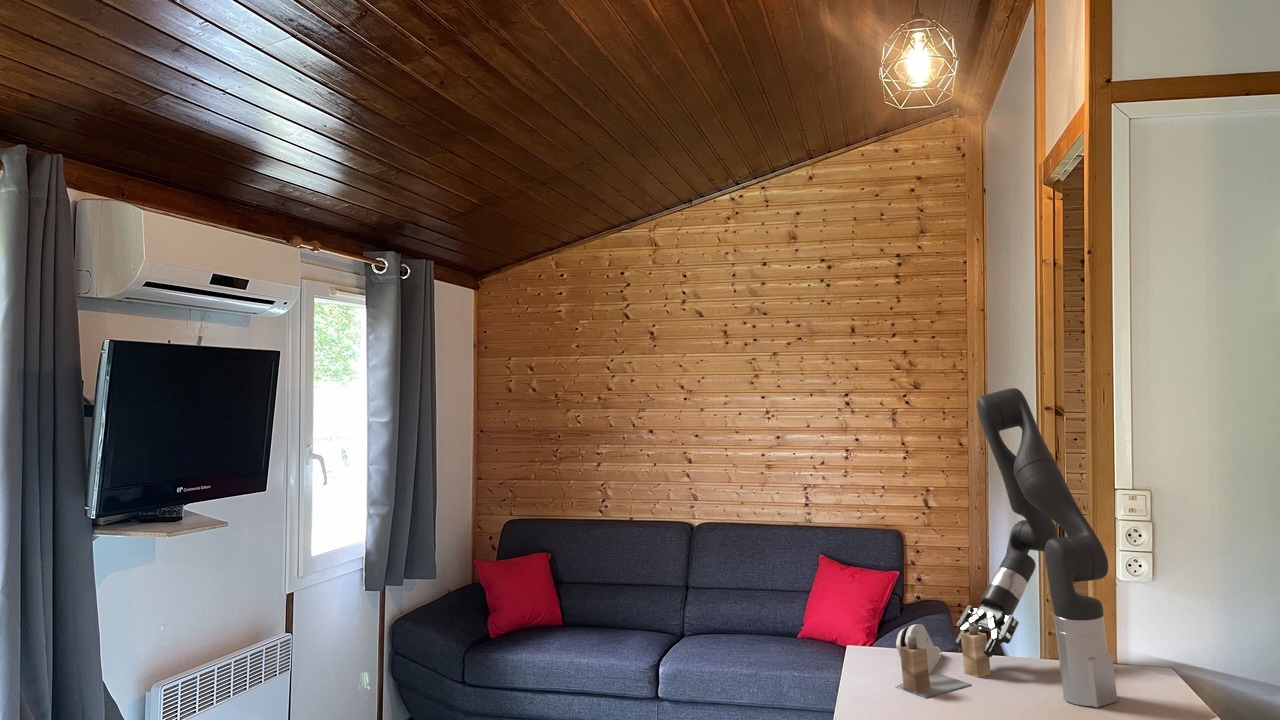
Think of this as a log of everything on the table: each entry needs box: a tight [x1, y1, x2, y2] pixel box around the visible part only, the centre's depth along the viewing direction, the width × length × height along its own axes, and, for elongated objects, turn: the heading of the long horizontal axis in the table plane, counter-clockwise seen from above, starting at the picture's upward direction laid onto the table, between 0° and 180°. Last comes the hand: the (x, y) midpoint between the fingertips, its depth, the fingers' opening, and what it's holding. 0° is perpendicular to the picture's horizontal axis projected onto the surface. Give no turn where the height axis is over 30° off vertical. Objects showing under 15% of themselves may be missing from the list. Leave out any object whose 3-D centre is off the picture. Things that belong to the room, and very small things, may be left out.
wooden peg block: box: [961, 626, 992, 678], centre depth 208 cm, size 4×4×11 cm
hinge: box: [895, 623, 943, 675], centre depth 219 cm, size 17×5×10 cm, turn 151°
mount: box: [896, 636, 972, 699], centre depth 203 cm, size 10×13×12 cm
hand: (972, 650), depth 208 cm, fingers open, 8 cm apart
